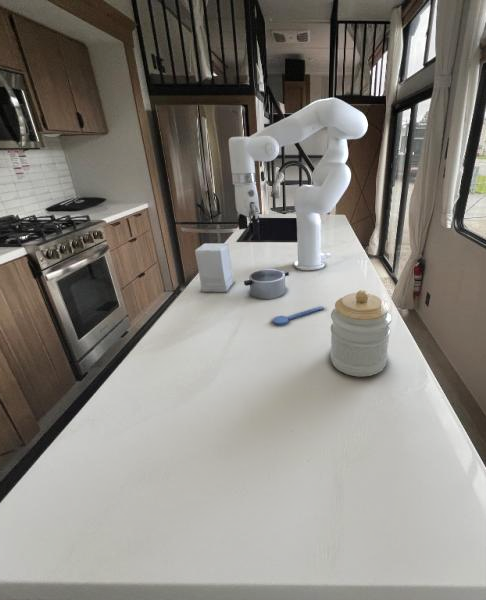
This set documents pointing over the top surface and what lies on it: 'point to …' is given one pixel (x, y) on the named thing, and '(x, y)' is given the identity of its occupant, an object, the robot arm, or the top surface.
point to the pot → (267, 283)
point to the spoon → (294, 316)
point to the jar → (360, 334)
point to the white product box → (214, 267)
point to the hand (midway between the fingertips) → (248, 231)
